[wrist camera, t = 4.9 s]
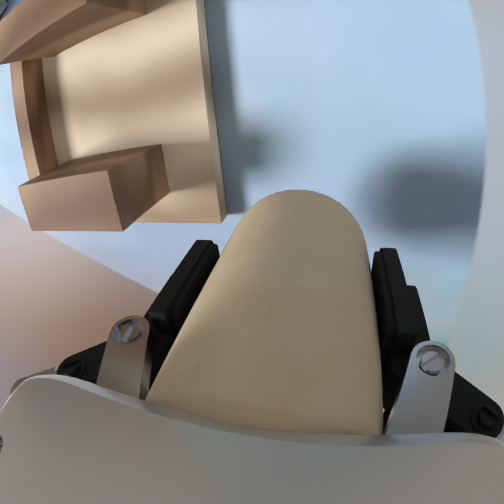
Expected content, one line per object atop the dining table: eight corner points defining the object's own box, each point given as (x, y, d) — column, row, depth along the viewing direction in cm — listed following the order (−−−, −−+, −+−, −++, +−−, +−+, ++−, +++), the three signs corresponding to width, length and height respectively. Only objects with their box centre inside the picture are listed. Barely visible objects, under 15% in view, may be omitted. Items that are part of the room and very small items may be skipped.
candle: (377, 196, 10) (432, 501, 2) (352, 305, 13) (338, 529, 5) (233, 181, 11) (63, 428, 3) (237, 291, 14) (156, 494, 6)
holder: (39, 16, 13) (-22, 21, 8) (199, -59, 9) (145, -100, 4) (71, 216, 22) (21, 255, 17) (227, 214, 19) (186, 271, 13)
